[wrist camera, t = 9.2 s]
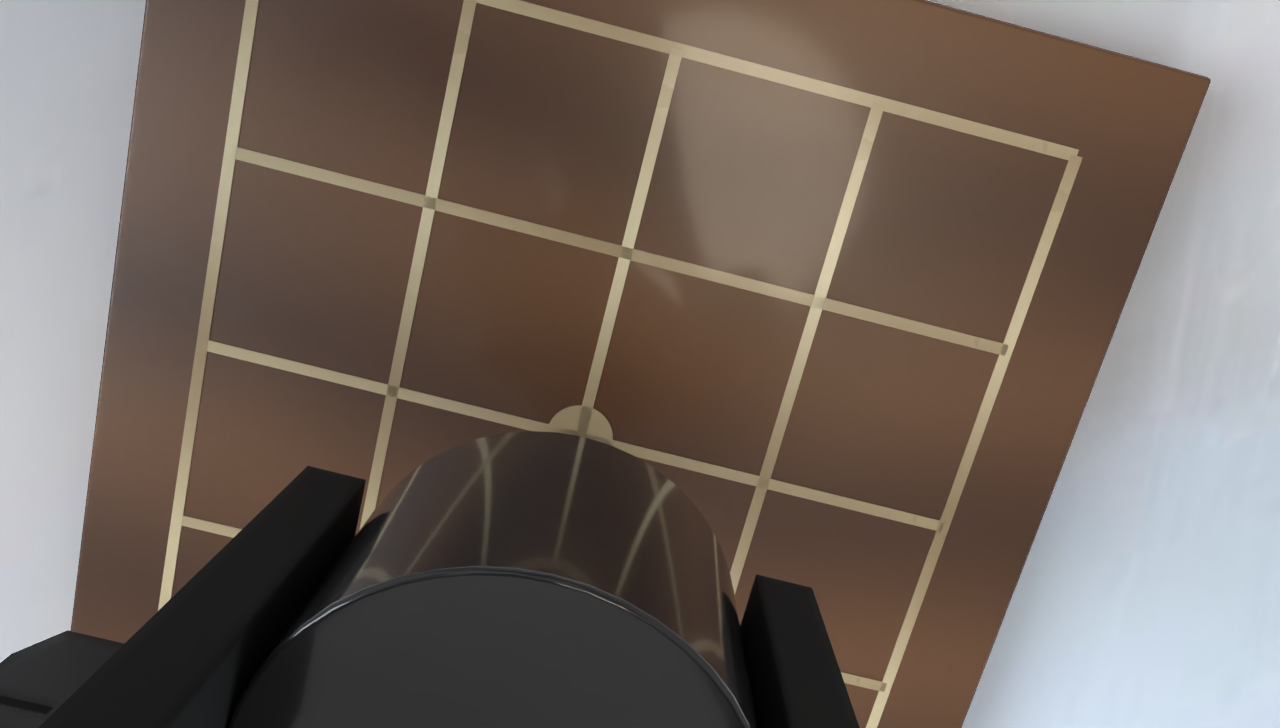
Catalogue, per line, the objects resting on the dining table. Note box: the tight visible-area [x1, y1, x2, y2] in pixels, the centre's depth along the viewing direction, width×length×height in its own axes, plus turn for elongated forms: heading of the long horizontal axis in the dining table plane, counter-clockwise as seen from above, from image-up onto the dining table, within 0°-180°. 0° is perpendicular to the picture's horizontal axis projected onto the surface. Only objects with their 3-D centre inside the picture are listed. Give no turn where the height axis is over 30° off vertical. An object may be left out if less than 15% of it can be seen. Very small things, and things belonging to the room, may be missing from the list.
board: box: [71, 0, 1210, 728], centre depth 21 cm, size 20×20×2 cm
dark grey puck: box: [227, 431, 758, 728], centre depth 11 cm, size 5×5×4 cm
